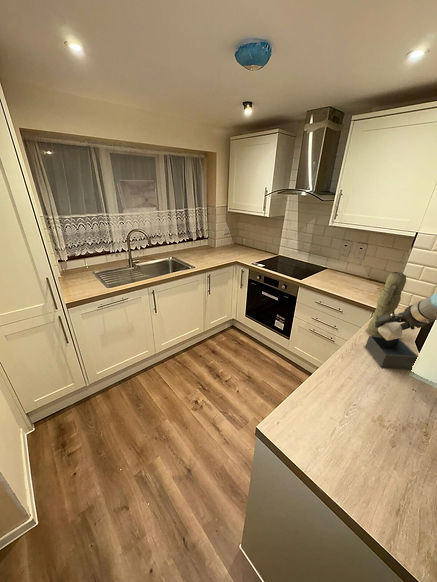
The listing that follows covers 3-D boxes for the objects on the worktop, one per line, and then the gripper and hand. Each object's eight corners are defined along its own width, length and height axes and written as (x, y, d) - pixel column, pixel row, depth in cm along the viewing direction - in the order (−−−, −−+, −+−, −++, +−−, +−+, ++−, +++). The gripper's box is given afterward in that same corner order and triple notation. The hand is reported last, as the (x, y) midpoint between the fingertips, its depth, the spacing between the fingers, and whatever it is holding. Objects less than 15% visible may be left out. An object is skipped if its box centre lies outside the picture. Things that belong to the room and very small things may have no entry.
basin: (393, 348, 117) (398, 337, 114) (413, 369, 104) (419, 357, 101) (364, 346, 117) (369, 335, 114) (380, 367, 104) (385, 355, 102)
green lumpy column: (385, 330, 131) (409, 272, 116) (385, 341, 122) (411, 279, 107) (367, 325, 135) (388, 268, 120) (366, 335, 126) (388, 275, 111)
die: (383, 331, 109) (375, 315, 106) (407, 330, 103) (399, 313, 100) (381, 345, 105) (372, 329, 102) (405, 345, 98) (397, 328, 95)
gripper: (388, 318, 85) (361, 330, 106) (458, 327, 81) (415, 338, 102) (387, 299, 87) (361, 315, 108) (454, 306, 83) (414, 321, 104)
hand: (387, 326), depth 105 cm, fingers closed on die, 9 cm apart
